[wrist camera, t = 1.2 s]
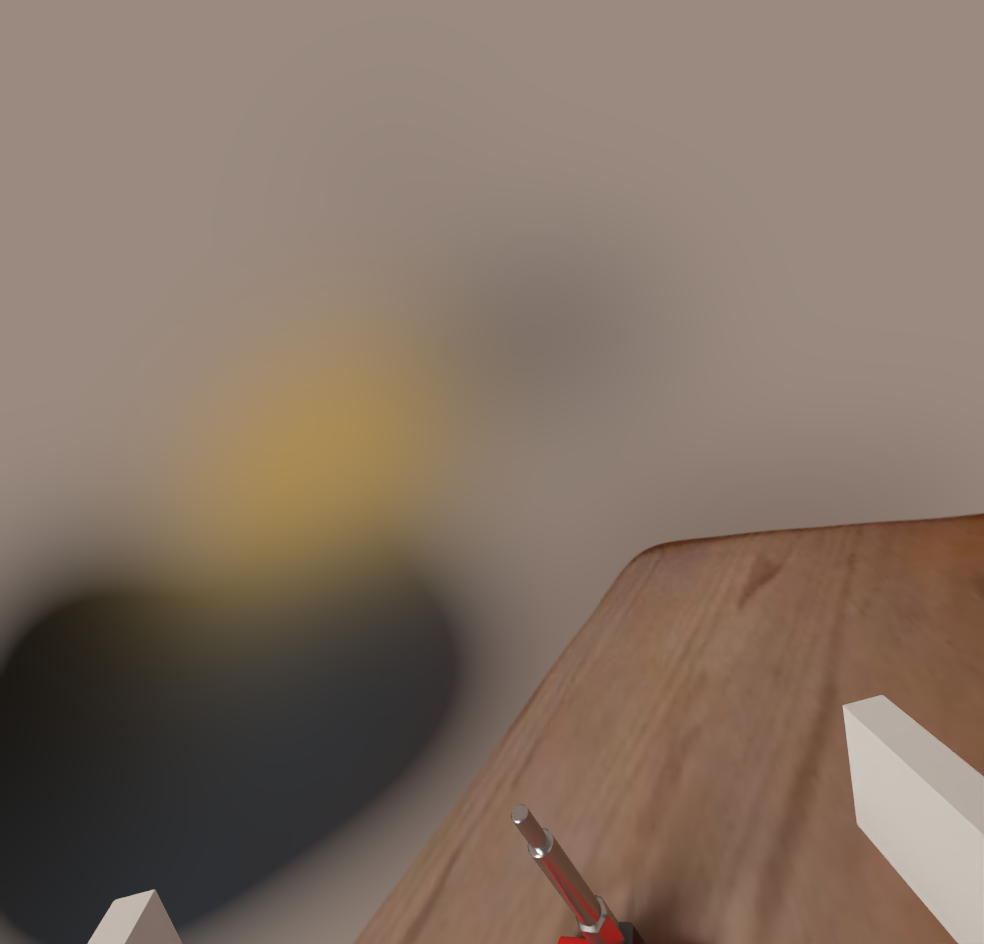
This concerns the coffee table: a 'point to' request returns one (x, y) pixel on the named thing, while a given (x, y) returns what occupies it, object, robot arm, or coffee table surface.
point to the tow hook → (572, 887)
